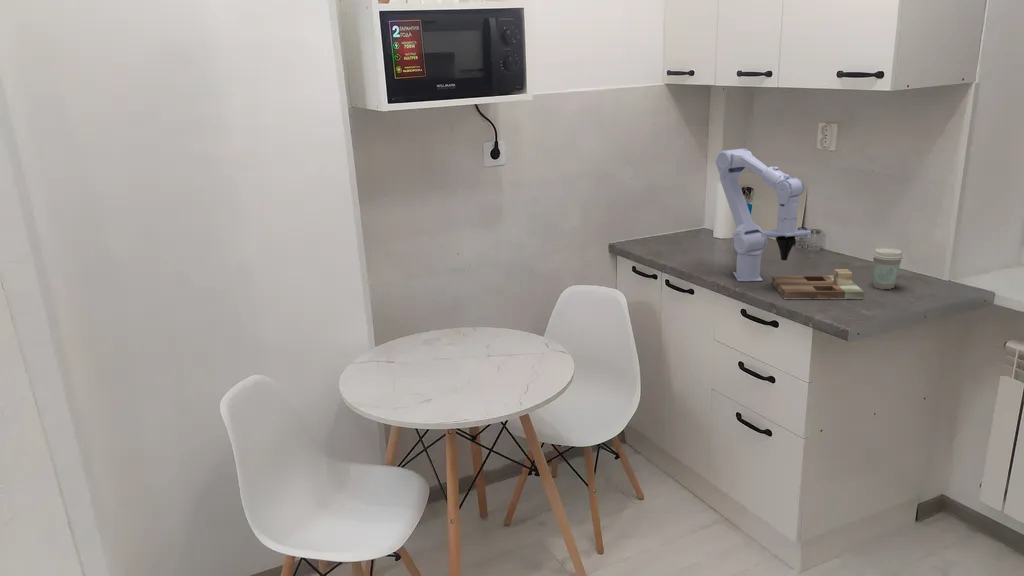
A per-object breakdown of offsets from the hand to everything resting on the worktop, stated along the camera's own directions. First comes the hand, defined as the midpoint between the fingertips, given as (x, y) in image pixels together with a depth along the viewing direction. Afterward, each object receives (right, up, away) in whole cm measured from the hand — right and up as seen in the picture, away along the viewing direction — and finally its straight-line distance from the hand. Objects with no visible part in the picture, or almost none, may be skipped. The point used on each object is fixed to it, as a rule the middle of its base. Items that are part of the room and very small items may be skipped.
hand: (783, 259), depth 225 cm
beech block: (+18, -8, -1) cm, 19 cm away
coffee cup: (+32, -9, +1) cm, 34 cm away
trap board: (+10, -10, 0) cm, 14 cm away
